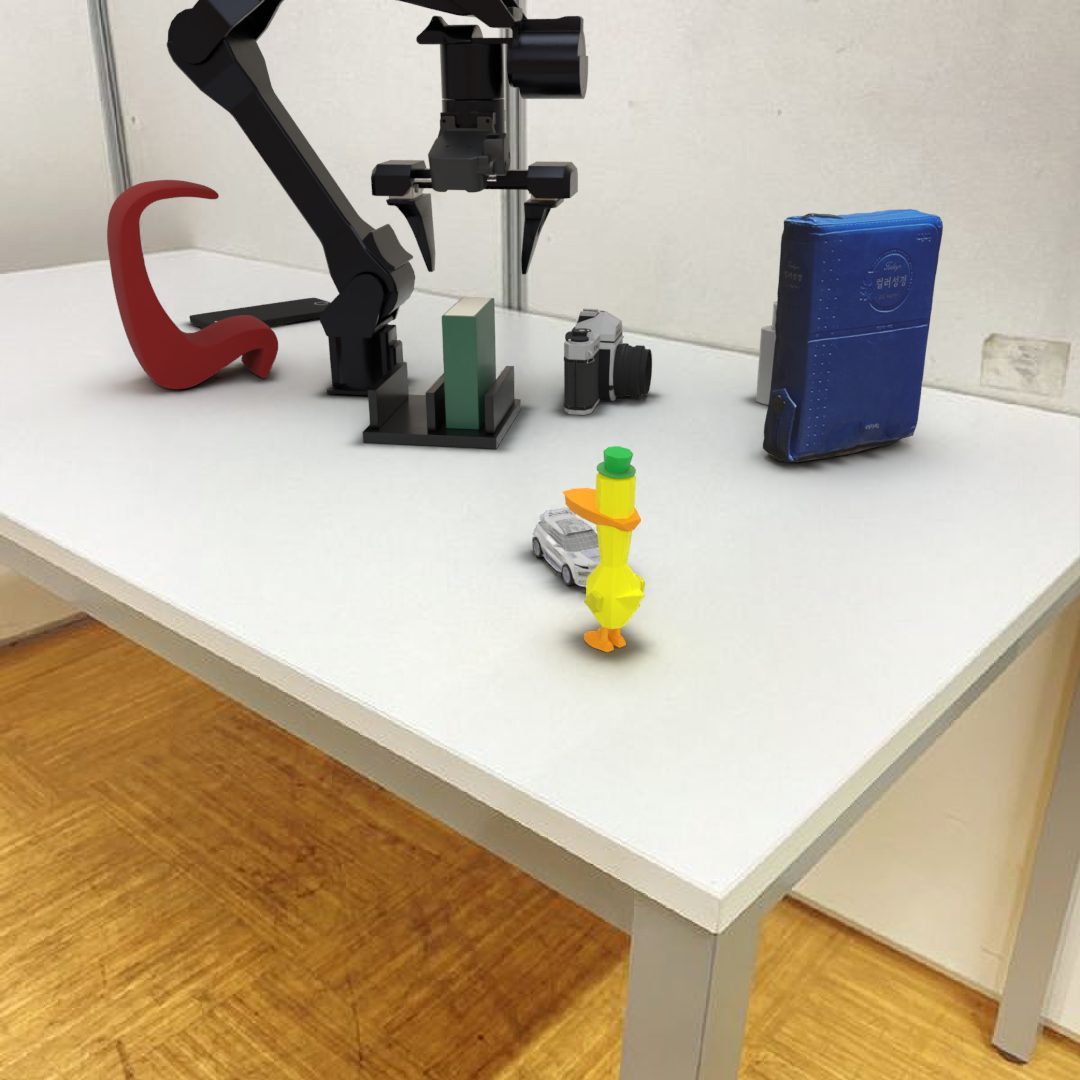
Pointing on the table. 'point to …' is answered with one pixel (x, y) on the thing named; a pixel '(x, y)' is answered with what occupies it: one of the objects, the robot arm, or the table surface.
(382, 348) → the robot arm
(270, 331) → the chair
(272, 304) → the cell phone
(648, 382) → the camera
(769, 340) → the power adapter
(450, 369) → the small book
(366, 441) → the book rack
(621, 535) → the toy figure
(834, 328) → the book
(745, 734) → the table surface
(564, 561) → the toy car
